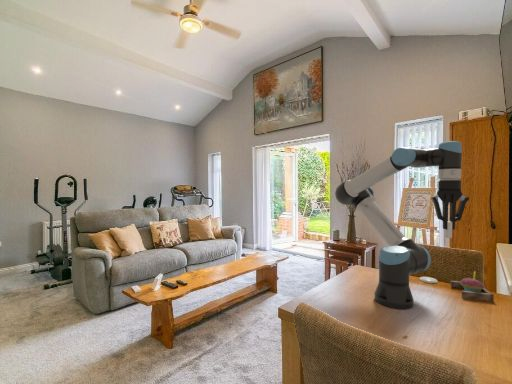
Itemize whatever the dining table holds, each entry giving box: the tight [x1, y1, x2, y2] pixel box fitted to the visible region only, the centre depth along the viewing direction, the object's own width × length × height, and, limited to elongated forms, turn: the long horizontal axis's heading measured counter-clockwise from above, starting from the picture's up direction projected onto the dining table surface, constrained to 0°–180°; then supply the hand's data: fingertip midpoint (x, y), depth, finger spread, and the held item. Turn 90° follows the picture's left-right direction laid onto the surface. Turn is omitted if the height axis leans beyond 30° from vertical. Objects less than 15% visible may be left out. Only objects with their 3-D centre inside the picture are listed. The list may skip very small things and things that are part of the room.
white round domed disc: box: [419, 276, 439, 284], centre depth 139 cm, size 8×8×1 cm
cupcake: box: [459, 269, 485, 293], centre depth 122 cm, size 9×8×12 cm
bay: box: [449, 280, 495, 302], centre depth 122 cm, size 11×14×3 cm
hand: (448, 237), depth 107 cm, fingers closed
